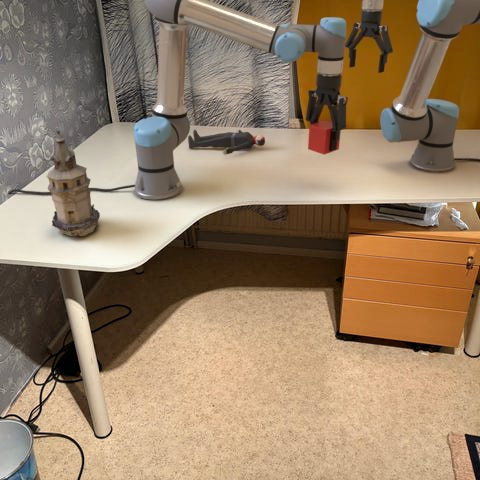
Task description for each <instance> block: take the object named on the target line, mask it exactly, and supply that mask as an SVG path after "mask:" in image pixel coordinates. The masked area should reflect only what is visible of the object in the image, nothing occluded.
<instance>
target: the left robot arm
mask: <svg viewBox="0 0 480 480" xmlns="http://www.w3.org/2000/svg"><path fill="white" fill-rule="evenodd" d="M144 3H145V6H146V8H147V10H148V12H149V13H150V14H151V15H152V16H154V22H155V23H156V24H157V25H158V27H159V30H158V31H159V33H158V63H157V65H158V66H157V67H158V68H157V69H158V70H157V96H156V97H157V98H156V99H157V100H156V102H155V104H154V105H152V107H151V116H150V117H149V116H148V117H146V118H142V119H140V120H138V121H137V123H135V125H134V127H133V139H134V144H135V154H136V161H137V175H136V179H135V184H128V185H124V186H118V187H113V188H100V187H89V189H90V191H98V192H115V191H120V190H123V189H124V190H125V189H130V188H134V193H135V195H136V196H137V197H138V198H141V199H143V200H148V201H161V200H168V199H171V198H174V197H176V196H178V195H179V194H180V193H181V192H182V182H181V180H180V177H179V176H178V173H177V171H176V169H175V161H174V160H175V159H174V158H175V157H174V151H175V150H176V149H177V148H178V147H179V146H180V145H181V144H182V143H184V142H185V140H186V139H188V136H189V135H190V130H191V122H190V119H189V117H188V108H187V106H186V105H184V98H185V82H186V81H185V80H186V79H185V78H186V63H187V61H186V60H187V47H188V46H187V44H188V43H187V42H188V29H189V28H191V27H194V28H197V29H200V30H203V31H207V32H209V33H212V34H215V35H218V36H220V37H223V38H226V39H228V40H232V41H235V42H237V43H239V44H243V45H246V46H249V47H252V48H255V49H257V50H261V51H263V52H266V53H267V54H271V55H274V56H275V57H277V58H278V59H279V60H280V61H281V62H283V63H287V64H288V63H294V62H295V61H297V60H299V59H301V57H302V56H303V54H304V53H317V64H316V72H317V74H316V81H315V86H316V88H314V89H309V90H308V92H307V93H308V102H307V108H306V116H305V121H306V122H309V125H311V124H314V123H317V122H320V121H319V120H320V117H321V115H322V112H323V109H324V107H325V106H327V109H328V110H329V116H330V120H331V121H330V122H332V126H333V130H331V135H330V146H329V151H333V150H336V148H337V141H338V140H339V135H340V136H341V132H340V130H341V131H343V130H346V128H347V103H348V101H349V98H348V96H343V95H341V91H340V89H341V87H342V80H343V75H342V73H343V68H344V57H345V48H346V47H345V44H346V41H347V40H346V38H347V21H346V20H345V19H344V18H342V17H335V16H334V17H333V16H331V17H329V16H328V17H323V18H321V19H320V23H319V24H296V23H284V24H283V23H282V24H280V25H278V24H276V23H274V22H271V21H267V20H264V19H261V18H259V17H256V16H254V15H250V14H247V13H245V12H242V11H239V10H236V9H233V8H230V7H228V6H225V5H222V4H219V3H216V2H213V1H211V0H144ZM336 151H337V150H336ZM333 152H334V151H333ZM15 192H16V193H23V194H32V195H52V193H51V192H50V191H35V190H24V189H18V188H14V189H11V190H9V191H8V193H7V195H11V194H12V193H15Z"/></svg>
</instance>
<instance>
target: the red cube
mask: <svg viewBox="0 0 480 480" xmlns="http://www.w3.org/2000/svg"><path fill="white" fill-rule="evenodd" d="M308 130H309V131H308V142H307V150H308V151H312V152H315V153H318V154H321V155H323V156H324V155H327V154H330V153H333V152H335V151H338V150H340V143H341V142H340V141H341V134H340V135H339V140H338V141H337V148H336V150H333V151H329V146H330V135H331V130H333V126H332V121H329V120H328V121H327V120H321V121H319V122H317V123H314V124H309V128H308ZM341 131H342V130H340V133H341Z"/></svg>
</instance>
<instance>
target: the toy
mask: <svg viewBox="0 0 480 480" xmlns="http://www.w3.org/2000/svg"><path fill="white" fill-rule="evenodd" d="M187 142H188V148H189V149H190V150H192V149H196V148H203V149H206V148H216V149H217V148H224V150H222V153H223V155H224V156H226V155H231V154H233V153H234V152H238V151H241V150H242V151H249V150H252V149H253V148H254V146H259V147H262V146H264V145H265V144H266V137H265V136H263V135H255V136H253V134H252V133H250V132H249V131H242V130H241V129H237V130H236V132H231V131H228V132H222V133H221V132H220V133H215V134H209V135H203V136H201V135H200V134H199V133H198V131H197V129H193V136H192V135H190V134H188V135H187Z"/></svg>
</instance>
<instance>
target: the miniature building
mask: <svg viewBox="0 0 480 480" xmlns="http://www.w3.org/2000/svg"><path fill="white" fill-rule="evenodd" d="M56 134H57V136H56V138H55V140H54V141H55V142H56V147H55V154H54V156H52V157H51V161H52V162H53V165H54V167H53V168H51V169H50V170H49V171H48V173H47V174H46V178H47V179H48V182H49V184H48V186H47V190H48V192H51V193H52V194H51V200H52V201H53V205H54V209H55V211H53V217H52V220H51V223H52V225H51V227H54V228H56V229H58V230H59V231H60V234H63V235H64V234H65V235H66V236H69V237H77V236H80V237H83V236H87V235H88V234H90V233H93V232H94V231H95V229H96V226H97V225H98V223H99V220H100V216H101V213H100V212H99V210H98V209H96V208H95V204H92V201H91V200H92V199H91V198H92V197H91V192H92V190H90V189H89V188H90V184H91V178H89V177H88V174H87V167H85V166H84V165H83V166H82V165H80V164H77V160H76V154H75V151H74V150H70V149H69V147H68V145H67V143H66V138H65V137H64V136H63V135H61V130H60V129H56Z"/></svg>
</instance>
